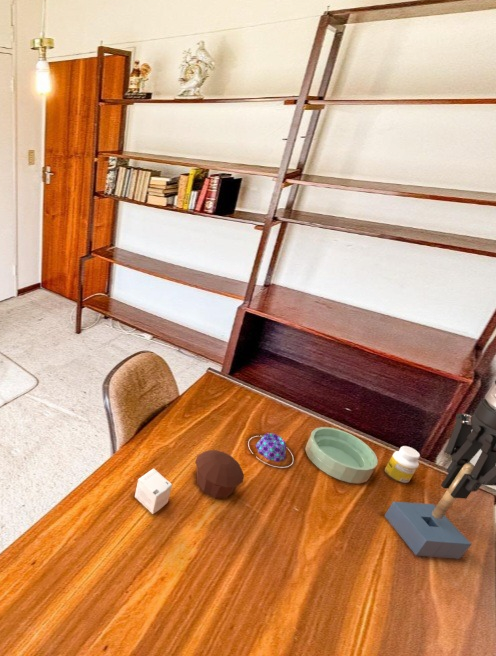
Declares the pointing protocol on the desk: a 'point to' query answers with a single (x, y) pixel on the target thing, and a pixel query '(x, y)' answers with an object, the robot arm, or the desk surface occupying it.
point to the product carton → (153, 491)
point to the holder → (426, 530)
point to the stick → (447, 498)
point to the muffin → (218, 473)
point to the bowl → (341, 455)
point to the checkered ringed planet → (272, 448)
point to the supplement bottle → (403, 464)
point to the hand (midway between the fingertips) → (453, 491)
